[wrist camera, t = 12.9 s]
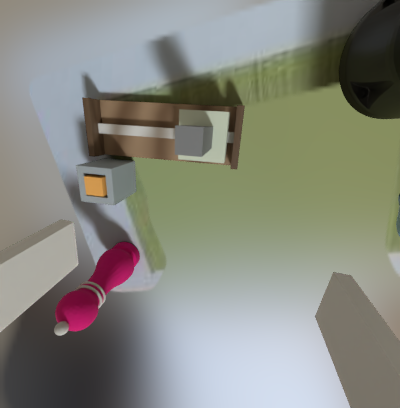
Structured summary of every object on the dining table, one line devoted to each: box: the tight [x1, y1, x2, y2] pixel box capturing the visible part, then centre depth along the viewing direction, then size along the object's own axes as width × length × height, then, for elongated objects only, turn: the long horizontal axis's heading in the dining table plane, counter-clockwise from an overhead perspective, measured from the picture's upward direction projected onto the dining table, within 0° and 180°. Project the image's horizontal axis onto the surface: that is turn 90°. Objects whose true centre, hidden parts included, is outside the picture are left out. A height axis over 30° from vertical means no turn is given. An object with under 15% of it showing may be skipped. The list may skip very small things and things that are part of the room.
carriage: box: [175, 109, 230, 163], centre depth 28 cm, size 7×7×12 cm
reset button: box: [84, 174, 107, 197], centre depth 37 cm, size 3×3×6 cm
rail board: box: [82, 98, 245, 169], centre depth 35 cm, size 25×9×4 cm, turn 87°
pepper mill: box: [54, 242, 140, 335], centre depth 39 cm, size 7×7×20 cm
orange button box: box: [76, 158, 136, 205], centre depth 38 cm, size 6×6×8 cm
